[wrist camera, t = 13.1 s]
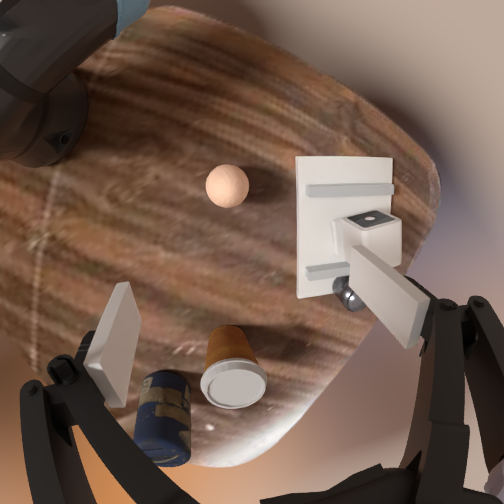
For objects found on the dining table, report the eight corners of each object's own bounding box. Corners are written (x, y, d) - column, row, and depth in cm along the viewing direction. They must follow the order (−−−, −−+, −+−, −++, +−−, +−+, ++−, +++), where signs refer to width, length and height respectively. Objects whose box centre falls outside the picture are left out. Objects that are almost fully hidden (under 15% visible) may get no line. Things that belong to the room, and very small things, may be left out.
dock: (295, 156, 39) (302, 157, 36) (389, 157, 41) (399, 159, 38) (296, 295, 47) (302, 304, 44) (379, 281, 49) (388, 289, 46)
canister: (194, 398, 52) (197, 474, 36) (149, 400, 51) (142, 473, 34) (185, 366, 49) (185, 448, 32) (136, 368, 47) (122, 447, 31)
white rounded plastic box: (364, 202, 41) (403, 219, 32) (366, 243, 44) (403, 269, 35) (327, 210, 41) (363, 231, 32) (332, 254, 44) (365, 283, 34)
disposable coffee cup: (258, 317, 47) (274, 366, 36) (251, 360, 50) (263, 409, 39) (200, 315, 45) (201, 365, 34) (198, 359, 48) (200, 410, 37)
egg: (198, 177, 38) (196, 185, 30) (230, 155, 37) (236, 157, 30) (220, 208, 40) (224, 223, 32) (251, 186, 39) (263, 196, 32)
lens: (332, 274, 45) (347, 291, 40) (356, 270, 46) (373, 285, 41) (331, 298, 47) (345, 316, 42) (354, 293, 47) (369, 310, 42)
